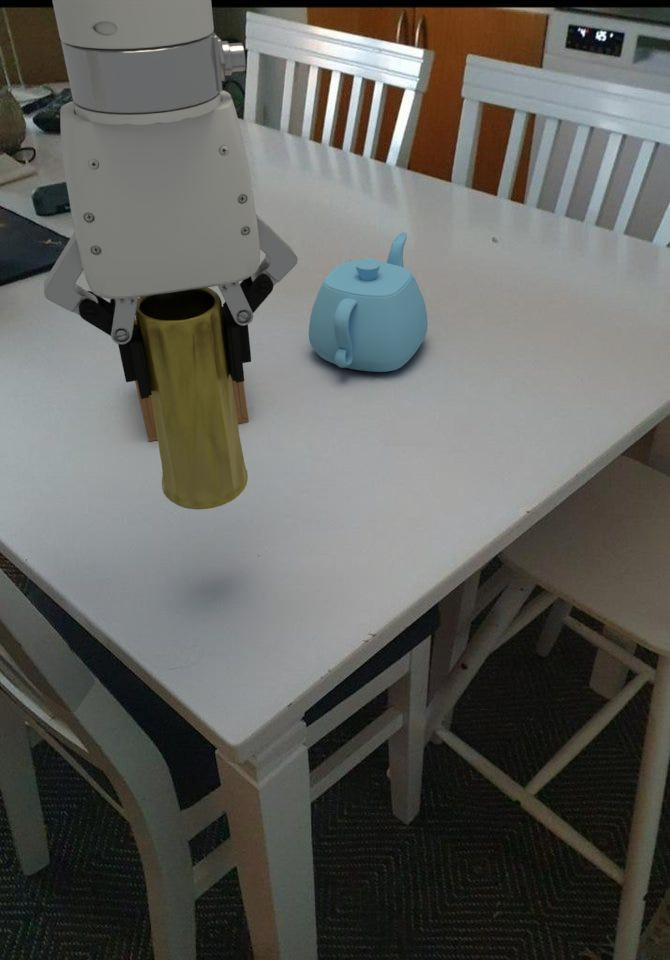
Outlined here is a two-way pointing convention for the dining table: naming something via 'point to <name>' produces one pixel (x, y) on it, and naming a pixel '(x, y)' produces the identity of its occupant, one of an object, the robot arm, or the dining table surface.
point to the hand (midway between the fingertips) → (189, 377)
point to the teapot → (369, 314)
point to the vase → (192, 397)
